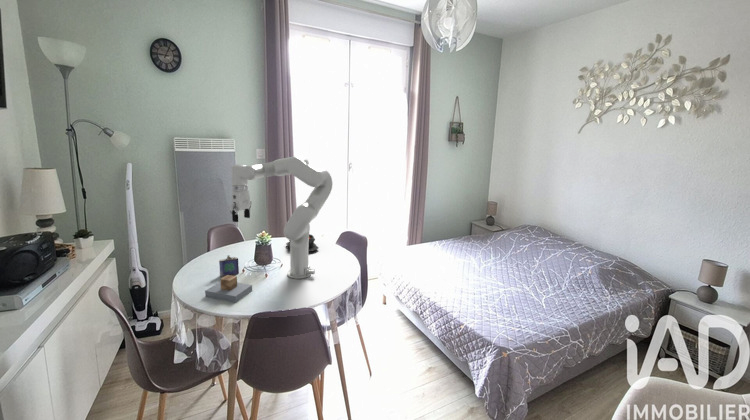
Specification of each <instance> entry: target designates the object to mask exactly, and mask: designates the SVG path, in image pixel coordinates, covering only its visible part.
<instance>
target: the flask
mask: <svg viewBox="0 0 750 420" xmlns="http://www.w3.org/2000/svg"><path fill="white" fill-rule="evenodd" d="M218 263H219V276H220V277H221V278H223V277H225V276H227V275H232V276H237V275H239V274H240V266H239V258H238V257H236V256H233V257H231V256H230V255H229V254H228V255H226V258H222V259H219V261H218Z"/></svg>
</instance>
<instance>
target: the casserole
mask: <svg viewBox="0 0 750 420" xmlns="http://www.w3.org/2000/svg"><path fill="white" fill-rule="evenodd" d="M315 241H316V238H315V236H314V235H312V234H310V233H309V247H308V253H309V252H314V251H316V250H318V249H319V247H318V246H317V244H316V243H315ZM285 244H286V246H287V247H288V249H290V240H289V239H288V242H286V243H285Z"/></svg>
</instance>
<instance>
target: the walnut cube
mask: <svg viewBox="0 0 750 420" xmlns="http://www.w3.org/2000/svg"><path fill="white" fill-rule="evenodd" d="M219 282H221V289H223V290H228V291H231V290H232V289H234V288H235V287H237V283H238V276H237V275H227V276H225V277H221V278H220V279H219Z"/></svg>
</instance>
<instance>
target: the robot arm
mask: <svg viewBox="0 0 750 420" xmlns="http://www.w3.org/2000/svg"><path fill="white" fill-rule="evenodd" d="M230 171H231V185H232V186H231V187H232V191H231V204H230V206H229V207H228V210H229V212H230V214H231V215H232V216H231V218H232V222H234V223H239V214H238V213H239V211H240V212H241V211H243V214H244V215H243V218H245V219H251V218H250V217H251V214H250V213H251V207H252V201H251V195H250V190H249V189H248V188H249V183H248V181H254V180H259V179H264V178H268V177H273V176H274V177H276V176H277V177H282V176H289V175H292V176H293V177H295V178H297V179H298V180H299V181H301V182H303V183H304V184H305V185H307V186H309V187H311V188H313V190H312V191H311V193H310V194H309V196H308V197H307V199H306V200H305V201H304V202H303V203H302V204H300V205H299V206H297V207H295V208H296V209H294V210H293V212H292V214H291V216H290V217H289V219H288V220H287V222H286V223H285V225H284V228H283V235H284V237H285V238H286V239H288V241H289V240H290V241H289V242H290V248H289V250H290V252H289V254H290V255H289V258H290V263H289V265H290V268H289V269H290V270H288V272H287V276H288V278H290V279H294V280H300V279H306V278H308V277H311V276H312V275H315V274H316V271H315V268H311V265H309V252H308V247H309V234H310V230H311V226H310V224H311V222H312V221H313V220H315V219H316V218H317V216H318V214H319V213H320V211H321V210H322V208H323V206H324V205H325V203H326V202H327V200H328V198H329V196H330V195H331V192H332V189H333V179H332V175H331V174H330V172H329V171H328V170H327V169H325V168H323V167H322V168H321V167H320V168H314V167H312V166H311V165H310V163H309V159H307V158H306V157H305V156H303V155H296V156H295V155H294V156H291V157H285V158H279V159H275V160H274V161H270V162H263V163H257V164H250V165H246V164H240V163H239V164H232V166H231V170H230Z"/></svg>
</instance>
